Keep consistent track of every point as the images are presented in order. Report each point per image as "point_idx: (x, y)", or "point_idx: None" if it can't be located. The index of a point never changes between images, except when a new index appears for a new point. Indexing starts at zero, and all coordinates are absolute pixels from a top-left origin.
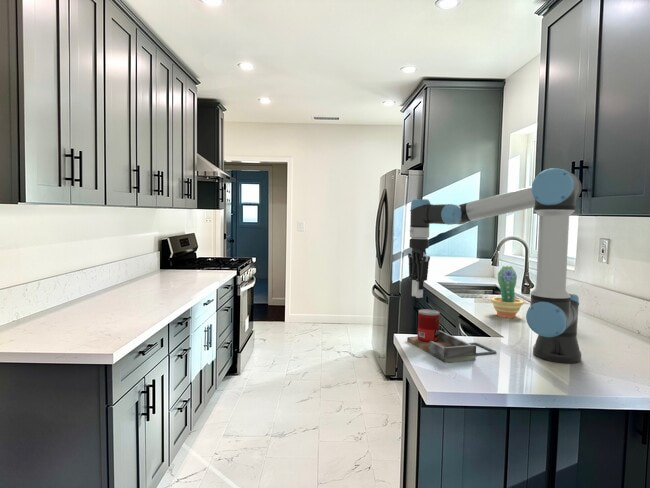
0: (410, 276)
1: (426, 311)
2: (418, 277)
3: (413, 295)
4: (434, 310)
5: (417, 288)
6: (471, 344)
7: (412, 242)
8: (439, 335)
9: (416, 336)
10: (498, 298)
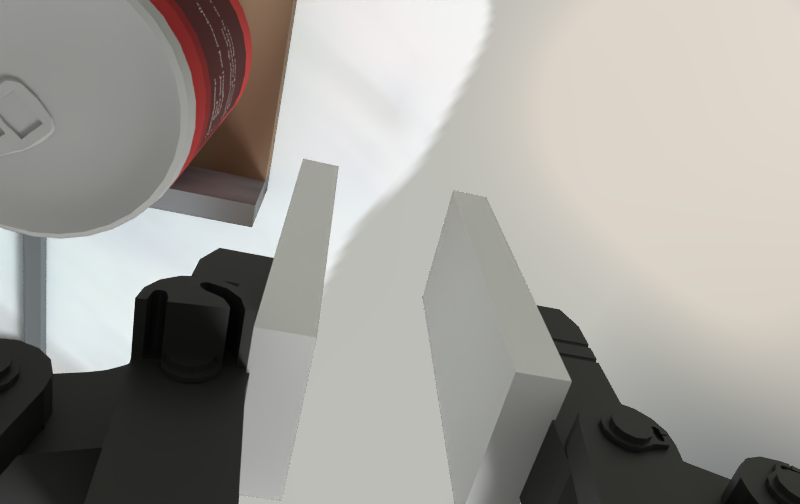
0: (743, 480)
1: (107, 113)
2: (169, 428)
3: (449, 210)
4: (83, 225)
5: (281, 243)
6: (26, 318)
7: None
8: None
9: (289, 21)
10: None
